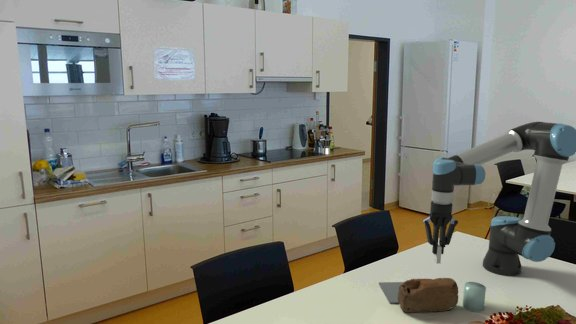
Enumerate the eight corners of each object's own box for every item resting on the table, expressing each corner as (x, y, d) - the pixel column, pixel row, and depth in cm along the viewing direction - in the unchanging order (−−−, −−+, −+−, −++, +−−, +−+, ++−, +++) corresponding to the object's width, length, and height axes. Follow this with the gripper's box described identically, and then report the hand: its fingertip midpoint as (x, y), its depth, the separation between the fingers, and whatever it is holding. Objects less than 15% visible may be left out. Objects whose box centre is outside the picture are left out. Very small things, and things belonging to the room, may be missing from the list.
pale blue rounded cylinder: (478, 302, 158) (479, 281, 157) (487, 311, 151) (489, 290, 150) (459, 302, 158) (461, 281, 156) (468, 312, 151) (470, 291, 150)
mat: (420, 283, 173) (420, 281, 173) (435, 303, 157) (435, 301, 157) (378, 283, 172) (378, 282, 172) (389, 303, 156) (389, 302, 156)
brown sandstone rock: (456, 312, 152) (402, 315, 149) (447, 298, 159) (394, 301, 156) (461, 286, 148) (405, 289, 146) (451, 273, 155) (398, 276, 153)
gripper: (454, 199, 162) (449, 257, 167) (420, 199, 162) (416, 258, 166) (463, 204, 155) (458, 266, 159) (428, 204, 154) (423, 266, 159)
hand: (437, 261), depth 163 cm, fingers closed
